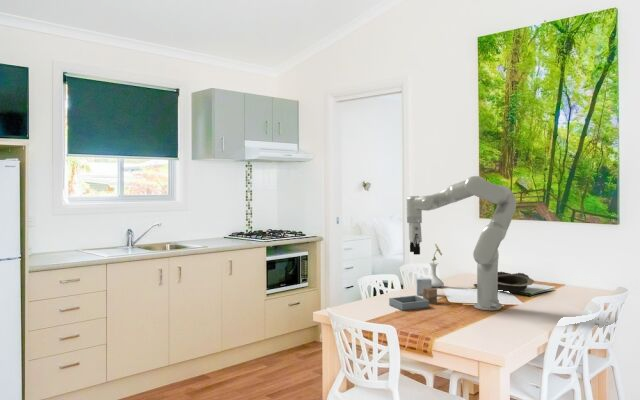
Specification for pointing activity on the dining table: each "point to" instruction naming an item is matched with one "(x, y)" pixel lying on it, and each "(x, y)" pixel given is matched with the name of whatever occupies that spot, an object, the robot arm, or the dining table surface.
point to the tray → (409, 303)
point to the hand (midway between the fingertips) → (414, 253)
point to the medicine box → (423, 284)
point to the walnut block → (430, 295)
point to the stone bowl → (513, 282)
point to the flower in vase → (435, 280)
